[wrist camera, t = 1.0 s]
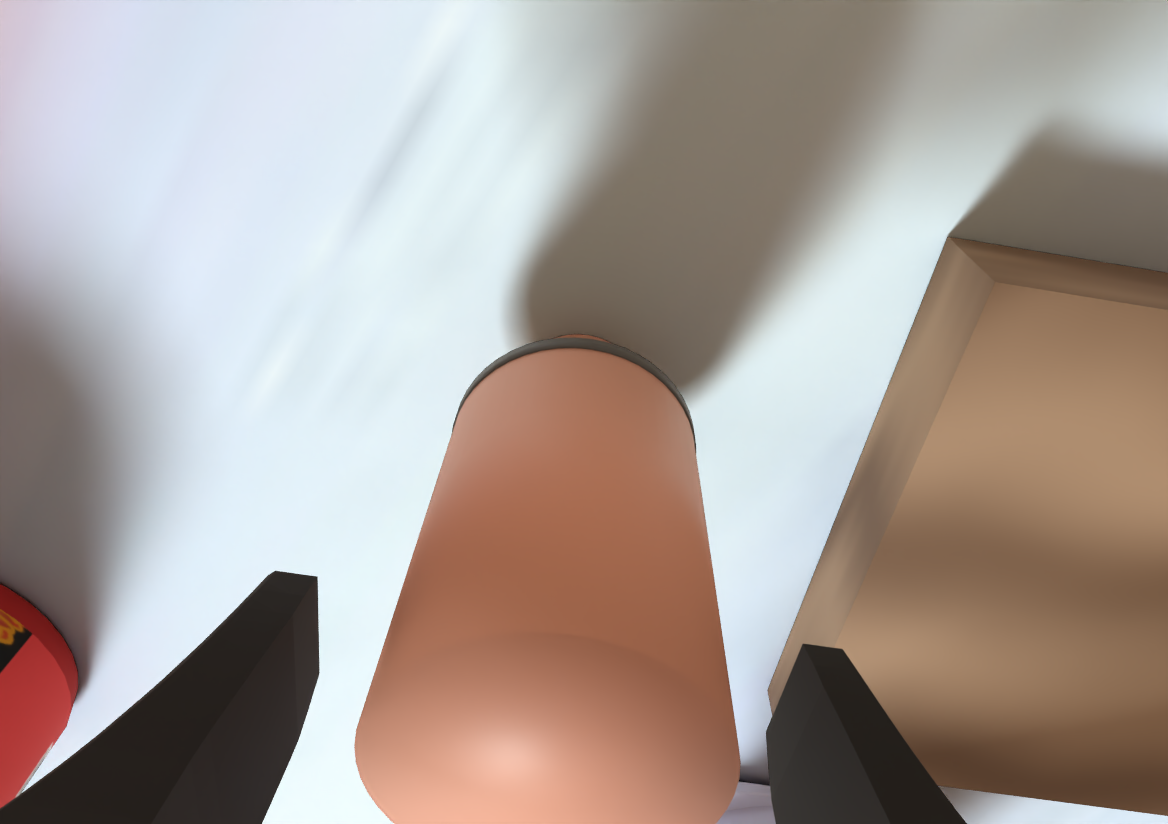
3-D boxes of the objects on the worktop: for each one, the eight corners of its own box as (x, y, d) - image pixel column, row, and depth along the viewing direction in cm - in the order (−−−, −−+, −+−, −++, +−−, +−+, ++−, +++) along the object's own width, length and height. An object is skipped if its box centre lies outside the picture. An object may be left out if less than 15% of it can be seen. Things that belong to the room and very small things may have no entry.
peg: (662, 493, 21) (694, 899, 12) (462, 464, 20) (350, 856, 12) (708, 311, 18) (790, 662, 10) (480, 275, 18) (354, 602, 9)
